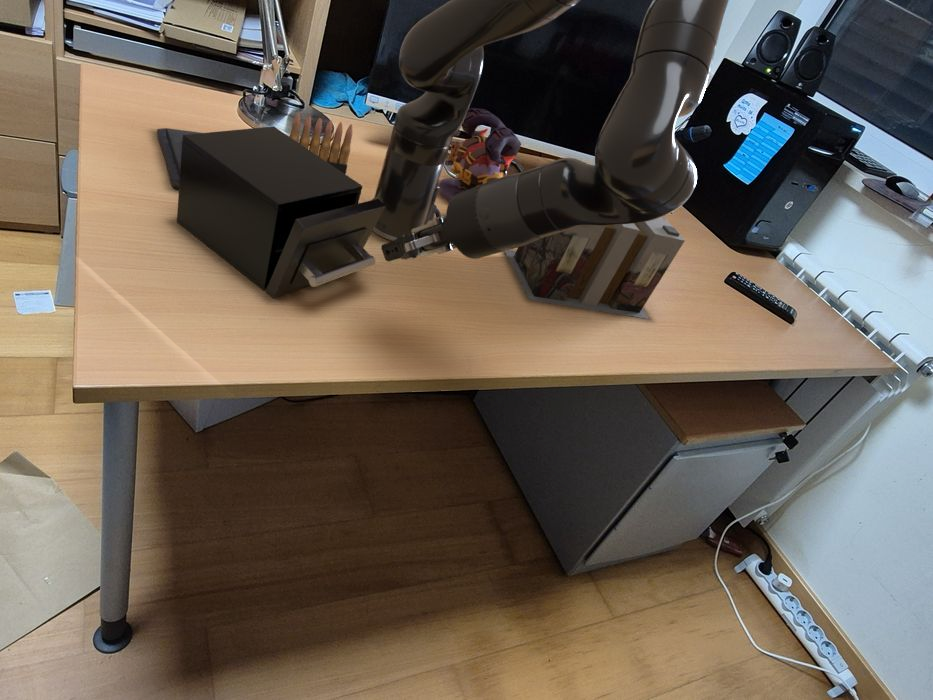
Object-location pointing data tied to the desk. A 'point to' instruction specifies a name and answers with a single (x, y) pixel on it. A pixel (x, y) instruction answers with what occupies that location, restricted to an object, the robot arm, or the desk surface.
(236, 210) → the oven
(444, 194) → the figurine
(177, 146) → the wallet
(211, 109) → the desk surface
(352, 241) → the oven door
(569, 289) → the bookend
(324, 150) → the ammunition clip
